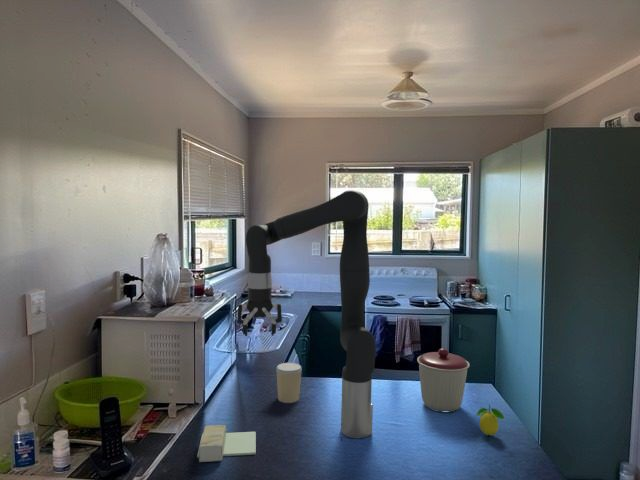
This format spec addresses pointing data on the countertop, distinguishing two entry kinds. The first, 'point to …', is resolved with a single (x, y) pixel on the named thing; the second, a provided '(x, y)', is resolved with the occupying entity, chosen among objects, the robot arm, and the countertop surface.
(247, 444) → the mat
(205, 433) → the skincare box
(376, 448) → the countertop surface
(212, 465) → the countertop surface
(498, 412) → the lemon
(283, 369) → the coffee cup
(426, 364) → the canister
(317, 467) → the countertop surface
